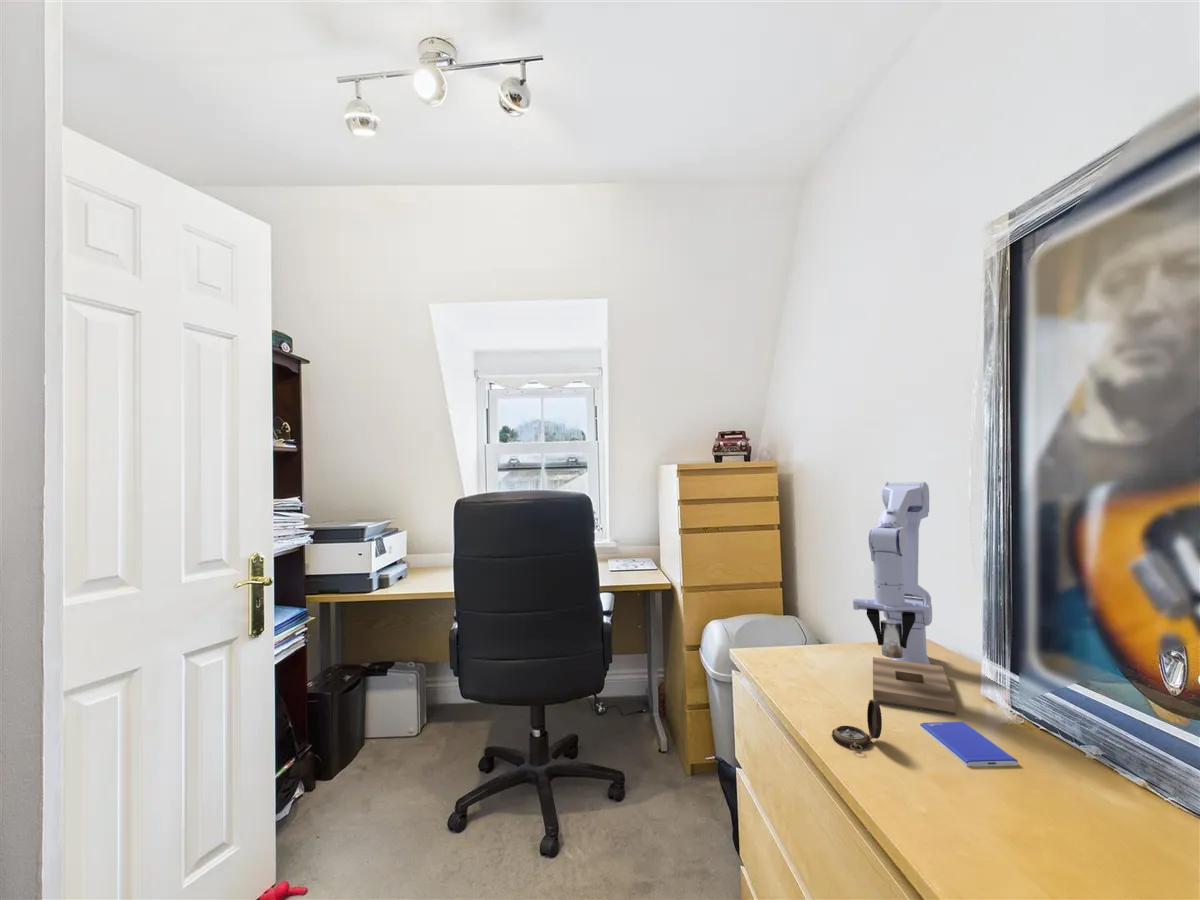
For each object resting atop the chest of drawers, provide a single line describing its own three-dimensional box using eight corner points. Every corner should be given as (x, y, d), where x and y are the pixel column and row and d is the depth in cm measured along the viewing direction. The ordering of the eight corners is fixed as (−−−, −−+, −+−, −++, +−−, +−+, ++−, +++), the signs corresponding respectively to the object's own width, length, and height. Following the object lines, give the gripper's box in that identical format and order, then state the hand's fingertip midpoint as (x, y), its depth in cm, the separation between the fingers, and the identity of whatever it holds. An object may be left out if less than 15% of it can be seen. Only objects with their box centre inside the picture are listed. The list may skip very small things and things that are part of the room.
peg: (881, 650, 117) (880, 619, 117) (902, 653, 115) (900, 621, 115) (882, 656, 113) (880, 624, 113) (903, 659, 111) (901, 626, 111)
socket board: (873, 667, 124) (872, 657, 124) (943, 676, 118) (942, 665, 118) (873, 702, 107) (873, 689, 107) (955, 715, 100) (955, 701, 100)
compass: (828, 730, 96) (826, 690, 96) (875, 734, 94) (873, 693, 94) (837, 753, 88) (835, 709, 89) (888, 758, 86) (886, 713, 87)
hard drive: (919, 722, 96) (966, 760, 83) (964, 721, 96) (1017, 758, 83) (920, 731, 96) (967, 770, 83) (964, 729, 96) (1018, 768, 83)
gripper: (851, 584, 114) (854, 646, 114) (929, 589, 107) (932, 656, 107) (852, 577, 121) (855, 636, 120) (926, 582, 114) (929, 645, 113)
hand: (892, 645), depth 114 cm, fingers closed on peg, 4 cm apart
